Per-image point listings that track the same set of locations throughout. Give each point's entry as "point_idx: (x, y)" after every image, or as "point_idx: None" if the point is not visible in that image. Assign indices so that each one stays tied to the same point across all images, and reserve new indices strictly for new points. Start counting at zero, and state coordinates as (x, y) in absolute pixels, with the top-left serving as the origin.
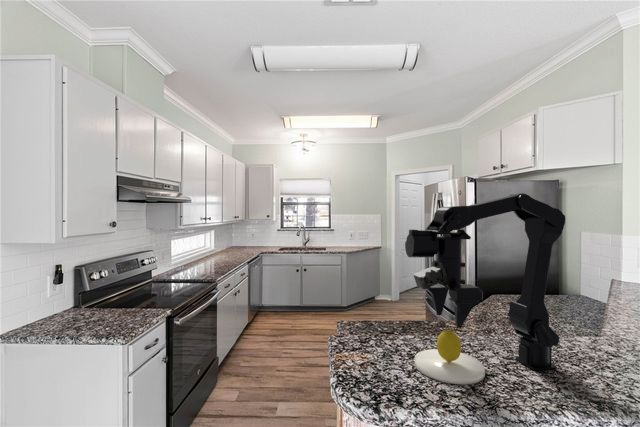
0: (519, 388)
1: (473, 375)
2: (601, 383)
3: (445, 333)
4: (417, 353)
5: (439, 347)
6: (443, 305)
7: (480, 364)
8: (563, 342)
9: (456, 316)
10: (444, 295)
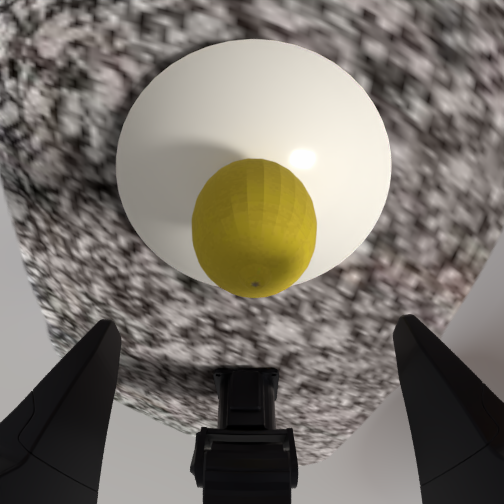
0: (121, 299)
1: (144, 222)
2: (167, 408)
3: (243, 246)
4: (368, 96)
5: (242, 167)
6: (407, 408)
7: None
8: (324, 437)
9: (52, 378)
10: (429, 479)
